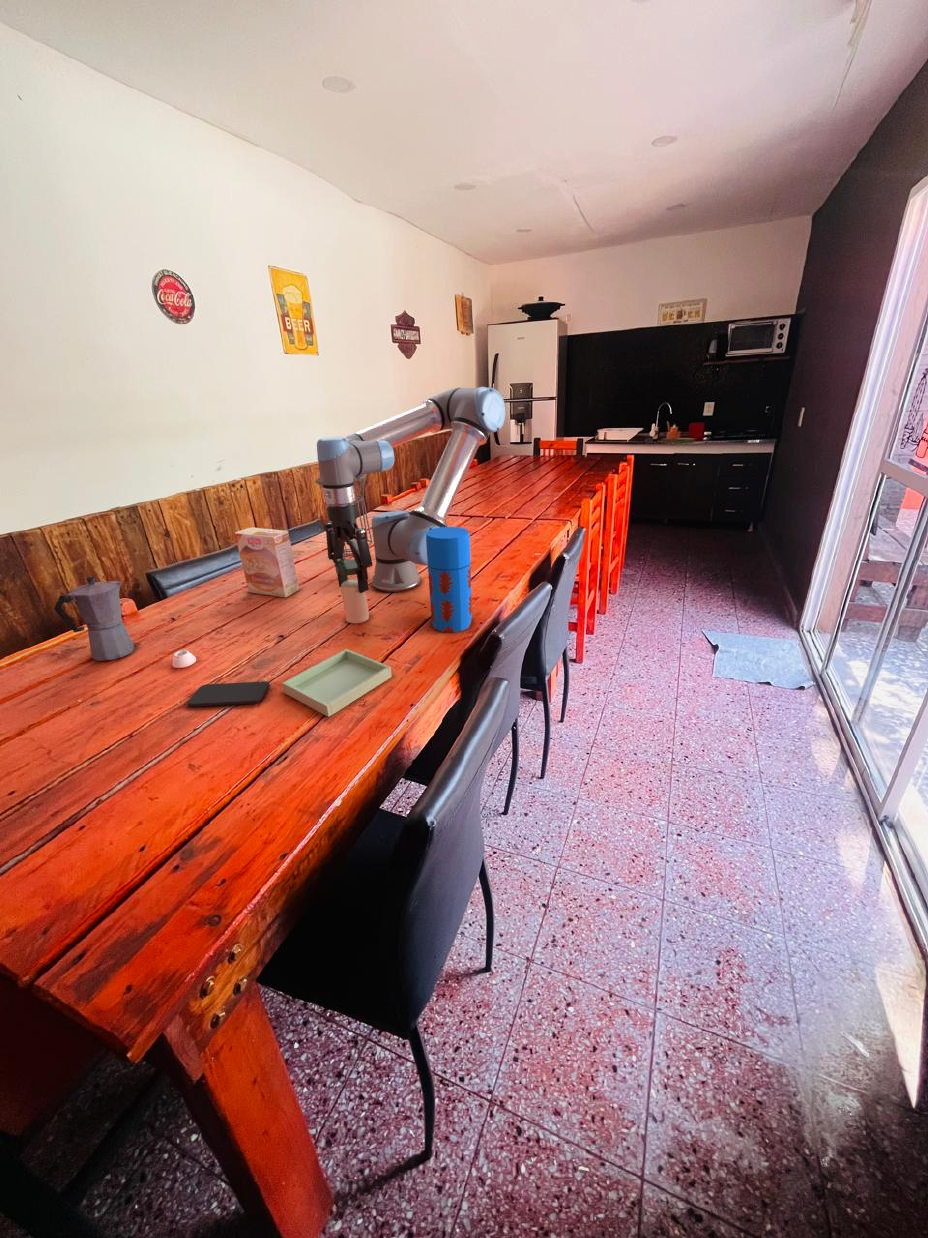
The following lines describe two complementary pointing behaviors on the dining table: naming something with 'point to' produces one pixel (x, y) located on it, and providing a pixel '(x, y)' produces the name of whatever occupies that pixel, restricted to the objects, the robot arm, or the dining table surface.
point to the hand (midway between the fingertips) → (353, 588)
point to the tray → (337, 681)
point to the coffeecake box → (267, 561)
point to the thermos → (449, 578)
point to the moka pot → (99, 618)
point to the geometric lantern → (357, 506)
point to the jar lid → (347, 567)
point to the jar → (354, 602)
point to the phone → (229, 694)
